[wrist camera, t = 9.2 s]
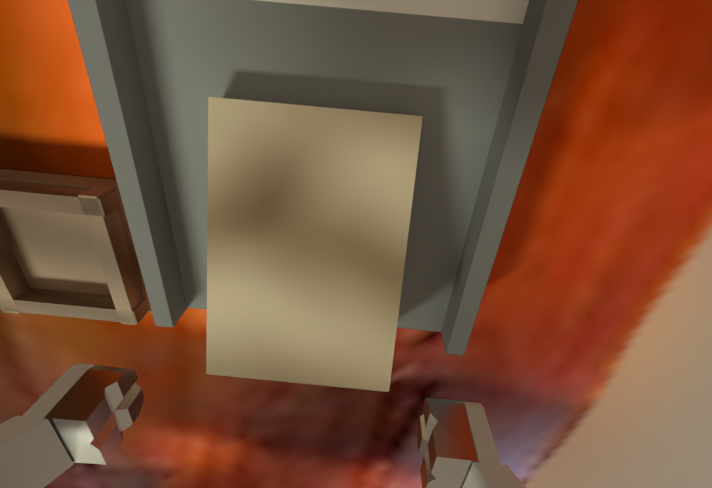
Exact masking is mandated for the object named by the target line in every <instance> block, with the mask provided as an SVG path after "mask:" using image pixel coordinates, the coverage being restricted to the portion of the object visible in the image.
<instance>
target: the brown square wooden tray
mask: <svg viewBox="0 0 712 488" xmlns="http://www.w3.org/2000/svg"><path fill="white" fill-rule="evenodd" d="M0 308H1V310H2V311H4V312H8V313H18V314H20V313H21V312H23V313H33V314H43V315H54V316H64V317H74V318H85V319H95V320H105V321H115V322H120V323H121V324H132V325H136V324H138V322H139V321H140V320H141V319H142V318H143V317H144V316H145V314H146V313H147V312H150V311H151V307H150V303H149V299H148V295H147V292H146V288H145V284H144V281H143V277H142V273H141V270H140V266H139V262H138V258H137V255H136V251H135V247H134V244H133V240H132V236H131V232H130V229H129V225H128V221H127V218H126V214H125V210H124V206H123V203H122V199H121V195H120V192H119V188H118V184H117V180H115V179H104V178H93V177H83V176H72V175H61V174H50V173H40V172H29V171H18V170H8V169H0Z"/></svg>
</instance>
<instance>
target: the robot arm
mask: <svg viewBox="0 0 712 488" xmlns="http://www.w3.org/2000/svg"><path fill="white" fill-rule="evenodd" d="M137 379H138V376H137V374H136V372H135V370H133V369H125V368H116V367H108V366H100V365H92V364H82V363H77V364H75V365H73V366H71V367H69V368H68V369H67V370H66V372H65V373H64V374H63V375H62V376H61V377H60V378H59V379H58V380H57V381H56V382H55V383H54V384H53V385H52V386H51V387H50V388H49V389H48V390H47V391H46V392H45V393H44V394H43V395H42V396H41V397H40V398H39V399H38V400H37V401H36V402H35V403H34V404H33V405H32V406H31V407H30V408H29V409H28V410H27V412H26V413H25V414H24V415H23V416H15V417H13V418H11V419H9V420H7V421H5V422H4V423H2V424H0V488H44V487H45V486H46V485H48V484H49V483H50V482H52V481H53V480H54V479H55V478H57V477H58V476H59V475H61V474H62V473H63V472H64V471H66V470H67V469H68V468H69V467H71V466H72V465H73V462H77V463H91V464H105V465H106V464H107V463H108V461H109V460H110V458H111V457H112V455H113V454H114V452H115V451H116V449H117V448H118V446H119V445H120V443H121V442H122V440H123V434H122V431H123V430H125V429H126V428H128V427H129V426H131V425H132V424H133V423H134V422H135V420H136V418H137V417H138V415H139V413H140V411H141V408H142V405H143V391H142V389H141V388H140V387H139V386H138V385H137V384H136V383H135V381H136V380H137ZM423 412H424V414H423V415H421V416H420V419H419V423H418V434H417V436H418V451H419V454H420V455H421V456H422V458H423V462H422V466H421V469H420V471H421V480H422V488H526V487H525V486H524V484H523V483H522V482H521V481H520V480H519V479H518V478H517V476H516V475H515V474H514V473H513V472H512V471H511V470H510V468H509V467H508V466H507V465H501V463H500V460H499V457H498V453H497V450H496V447H495V443H494V440H493V437H492V433H491V430H490V427H489V424H488V420H487V417H486V414H485V410H484V407H483V406H482V404H481V403H474V402H461V401H457V400H445V399H433V398H426V399H425V400H424V404H423Z"/></svg>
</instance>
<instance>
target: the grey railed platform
mask: <svg viewBox="0 0 712 488" xmlns="http://www.w3.org/2000/svg"><path fill="white" fill-rule="evenodd" d="M68 2H69V6H70V10H71V14H72V17H73V21H74V25H75V28H76V32H77V36H78V39H79V43H80V47H81V51H82V54H83V58H84V62H85V65H86V69H87V73H88V77H89V80H90V84H91V88H92V91H93V95H94V99H95V103H96V106H97V110H98V114H99V117H100V121H101V125H102V129H103V132H104V136H105V140H106V143H107V147H108V151H109V155H110V158H111V162H112V166H113V169H114V173H115V177H116V180H117V184H118V188H119V192H120V195H121V199H122V203H123V206H124V210H125V214H126V218H127V221H128V225H129V229H130V232H131V236H132V240H133V244H134V247H135V251H136V255H137V258H138V262H139V266H140V270H141V273H142V277H143V281H144V284H145V288H146V292H147V295H148V299H149V303H150V307H151V310H152V314H153V318H154V321H155V325H156V326H164V327H174V326H175V324H176V323H177V321H178V320H179V319H180V317H181V316H182V315H183V313H184V312H185V310H186V309H187V308H198V309H207V212H208V97H217V98H228V99H239V100H250V101H261V102H272V103H283V104H294V105H305V106H316V107H327V108H338V109H348V110H359V111H370V112H381V113H392V114H403V115H414V116H423V118H422V126H421V135H420V143H419V151H418V159H417V167H416V176H415V184H414V192H413V200H412V208H411V216H410V225H409V233H408V241H407V249H406V257H405V266H404V274H403V282H402V290H401V298H400V306H399V315H398V323H397V328H405V329H416V330H426V331H436V332H441V334H442V338H443V343H444V347H445V351H446V354H452V355H462V356H464V353H465V350H466V347H467V344H468V341H469V338H470V335H471V332H472V329H473V325H474V322H475V319H476V316H477V313H478V310H479V307H480V304H481V301H482V297H483V294H484V291H485V288H486V285H487V282H488V279H489V276H490V273H491V269H492V266H493V263H494V260H495V257H496V254H497V251H498V248H499V245H500V241H501V238H502V235H503V232H504V229H505V226H506V223H507V220H508V217H509V213H510V210H511V207H512V204H513V201H514V198H515V195H516V192H517V189H518V185H519V182H520V179H521V176H522V173H523V170H524V167H525V164H526V161H527V157H528V154H529V151H530V148H531V145H532V142H533V139H534V136H535V133H536V129H537V126H538V123H539V120H540V117H541V114H542V111H543V108H544V105H545V101H546V98H547V95H548V92H549V89H550V86H551V83H552V80H553V77H554V73H555V70H556V67H557V64H558V61H559V58H560V55H561V52H562V49H563V45H564V42H565V39H566V36H567V33H568V30H569V27H570V24H571V21H572V17H573V14H574V11H575V8H576V5H577V2H578V0H68Z"/></svg>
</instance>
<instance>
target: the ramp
mask: <svg viewBox="0 0 712 488" xmlns="http://www.w3.org/2000/svg"><path fill="white" fill-rule="evenodd" d="M422 118H423V116H414V115H403V114H392V113H381V112H370V111H359V110H348V109H338V108H327V107H316V106H305V105H294V104H283V103H272V102H261V101H250V100H239V99H228V98H217V97H208V212H207V358H206V374H211V375H221V376H231V377H241V378H251V379H262V380H272V381H282V382H292V383H302V384H312V385H323V386H333V387H343V388H353V389H363V390H373V391H384V392H389V388H390V380H391V372H392V364H393V355H394V347H395V339H396V331H397V323H398V315H399V306H400V298H401V290H402V282H403V274H404V266H405V257H406V249H407V241H408V233H409V225H410V216H411V208H412V200H413V192H414V184H415V176H416V167H417V159H418V151H419V143H420V135H421V126H422Z"/></svg>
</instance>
